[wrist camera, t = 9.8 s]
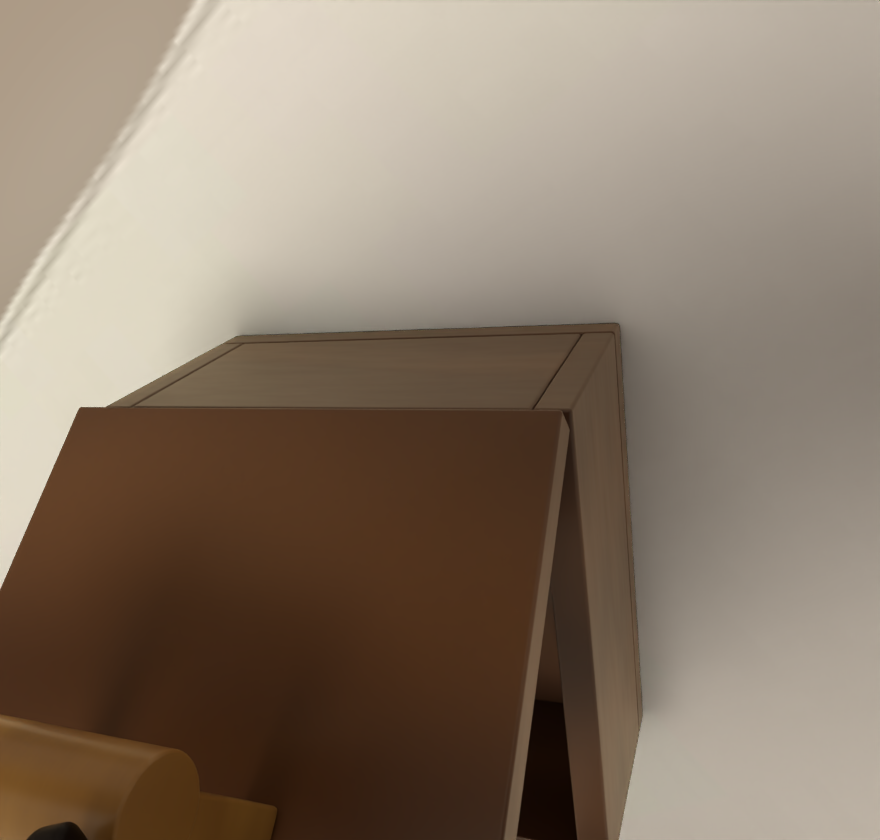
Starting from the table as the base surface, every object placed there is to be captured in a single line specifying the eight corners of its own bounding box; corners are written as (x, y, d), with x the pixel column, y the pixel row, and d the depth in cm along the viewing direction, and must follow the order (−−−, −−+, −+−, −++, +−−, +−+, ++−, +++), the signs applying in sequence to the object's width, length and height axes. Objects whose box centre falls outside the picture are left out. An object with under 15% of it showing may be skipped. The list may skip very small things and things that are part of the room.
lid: (444, 1399, 10) (231, 1735, 6) (-180, 1094, 14) (-541, 1169, 10) (570, 428, 16) (506, 271, 12) (100, 422, 20) (-62, 306, 16)
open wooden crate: (643, 715, 25) (611, 879, 20) (315, 669, 30) (223, 794, 25) (619, 322, 21) (571, 409, 16) (235, 335, 25) (103, 407, 20)
